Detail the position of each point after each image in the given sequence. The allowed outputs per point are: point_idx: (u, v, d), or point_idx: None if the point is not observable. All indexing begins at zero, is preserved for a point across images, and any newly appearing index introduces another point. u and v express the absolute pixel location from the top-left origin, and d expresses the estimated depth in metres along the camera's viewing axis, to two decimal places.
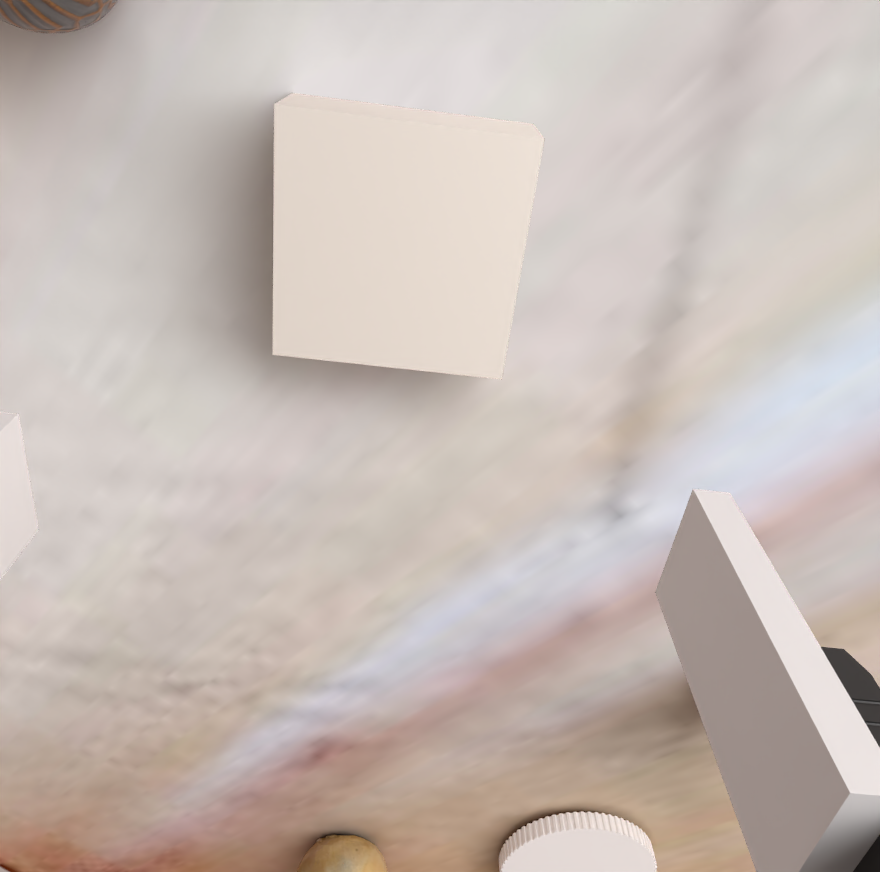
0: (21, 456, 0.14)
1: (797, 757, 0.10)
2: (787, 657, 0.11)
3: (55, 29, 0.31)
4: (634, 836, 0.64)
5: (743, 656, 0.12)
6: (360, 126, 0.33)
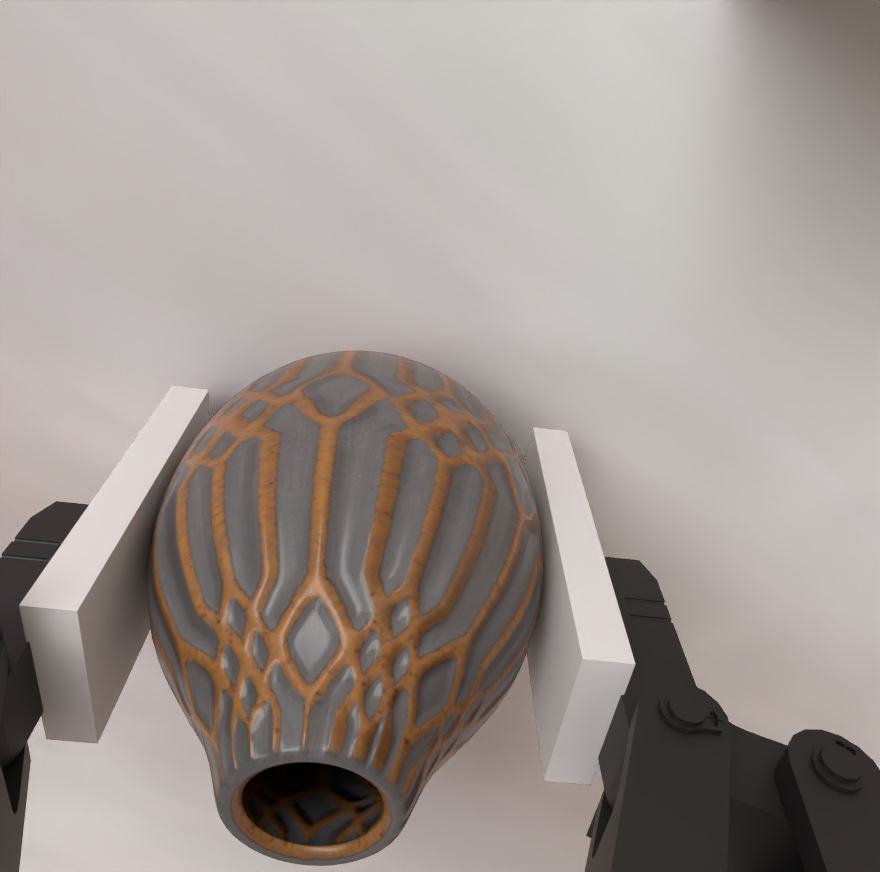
0: None
1: (562, 640, 0.11)
2: (568, 558, 0.12)
3: (540, 568, 0.13)
4: None
5: (545, 565, 0.13)
6: None
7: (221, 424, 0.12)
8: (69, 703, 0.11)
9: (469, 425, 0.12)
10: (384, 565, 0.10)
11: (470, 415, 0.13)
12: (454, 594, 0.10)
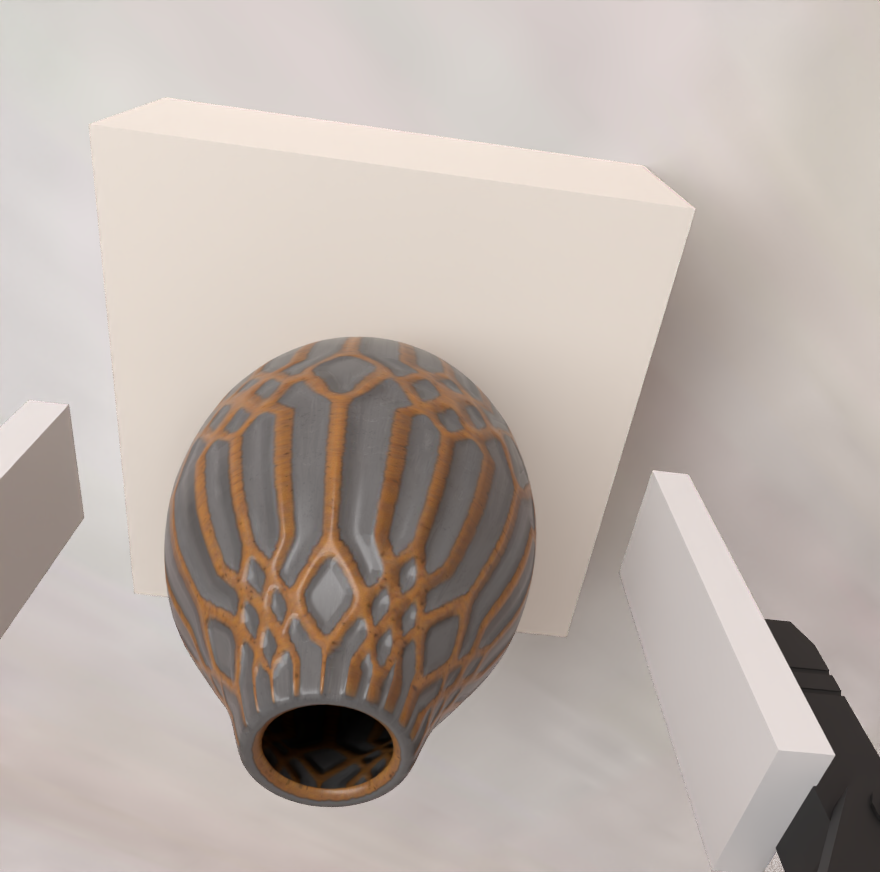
0: (70, 445, 0.15)
1: (735, 720, 0.11)
2: (730, 626, 0.11)
3: (534, 539, 0.13)
4: None
5: (692, 628, 0.12)
6: (142, 480, 0.18)
7: (235, 402, 0.13)
8: None
9: (468, 404, 0.13)
10: (393, 527, 0.11)
11: (468, 395, 0.13)
12: (457, 556, 0.11)
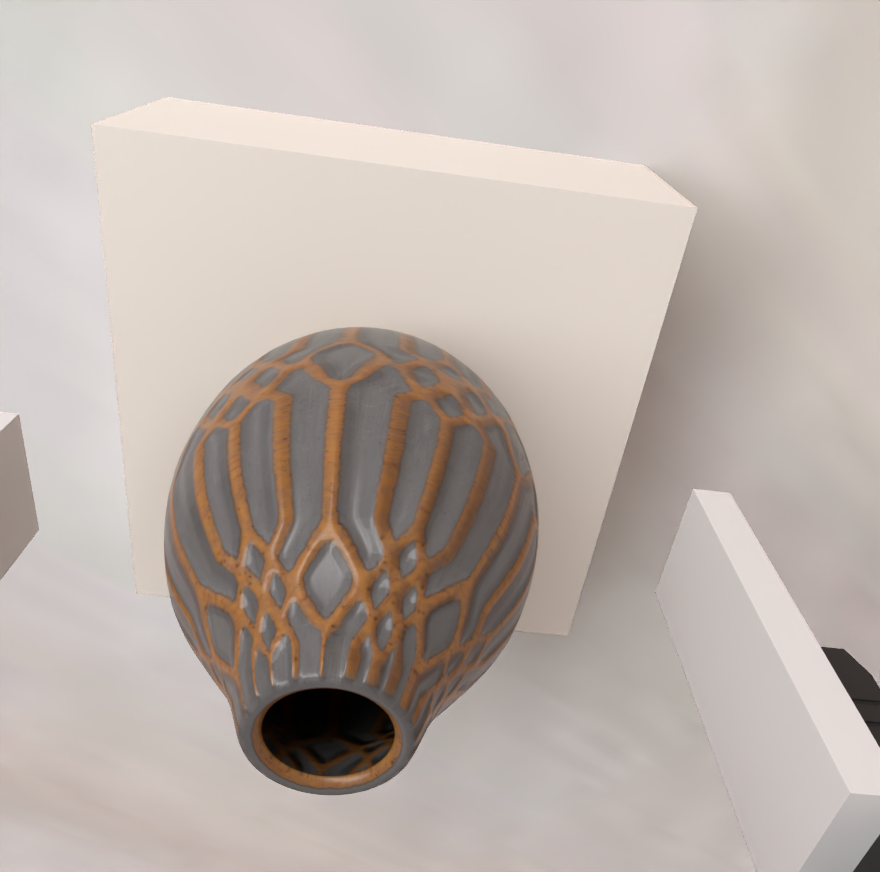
0: (22, 456, 0.14)
1: (797, 757, 0.10)
2: (787, 657, 0.11)
3: (536, 527, 0.13)
4: None
5: (743, 656, 0.12)
6: (143, 479, 0.18)
7: (234, 391, 0.13)
8: None
9: (468, 391, 0.13)
10: (391, 511, 0.11)
11: (469, 382, 0.13)
12: (457, 540, 0.11)
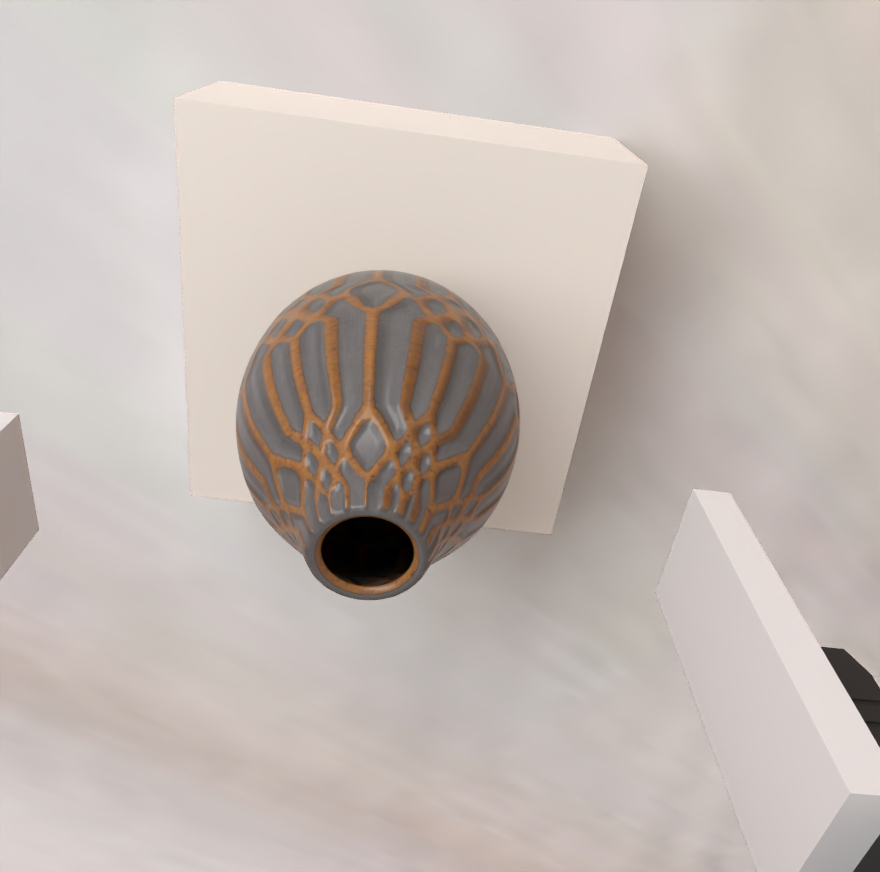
0: (21, 456, 0.14)
1: (797, 757, 0.10)
2: (787, 657, 0.11)
3: (518, 424, 0.17)
4: None
5: (743, 656, 0.12)
6: (201, 394, 0.22)
7: (290, 316, 0.17)
8: None
9: (468, 319, 0.17)
10: (412, 400, 0.15)
11: (468, 313, 0.17)
12: (459, 424, 0.15)
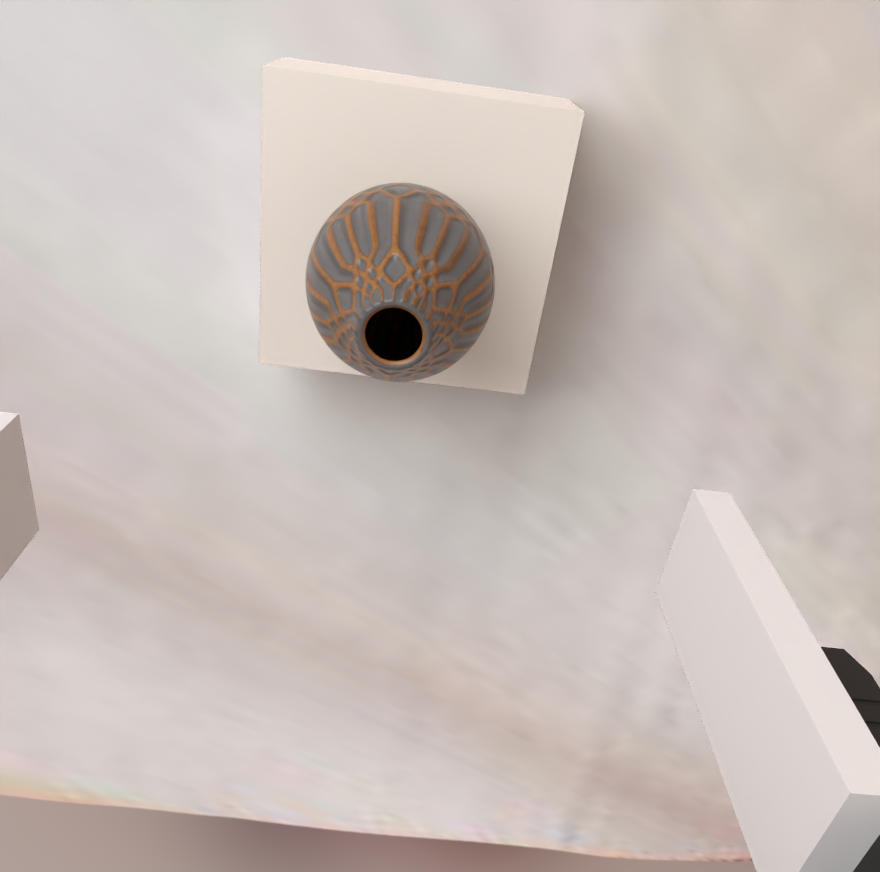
0: (21, 456, 0.14)
1: (797, 757, 0.10)
2: (787, 657, 0.11)
3: (492, 280, 0.26)
4: None
5: (743, 656, 0.12)
6: (270, 282, 0.31)
7: (343, 205, 0.26)
8: None
9: (459, 209, 0.26)
10: (422, 246, 0.24)
11: (460, 207, 0.26)
12: (452, 264, 0.24)
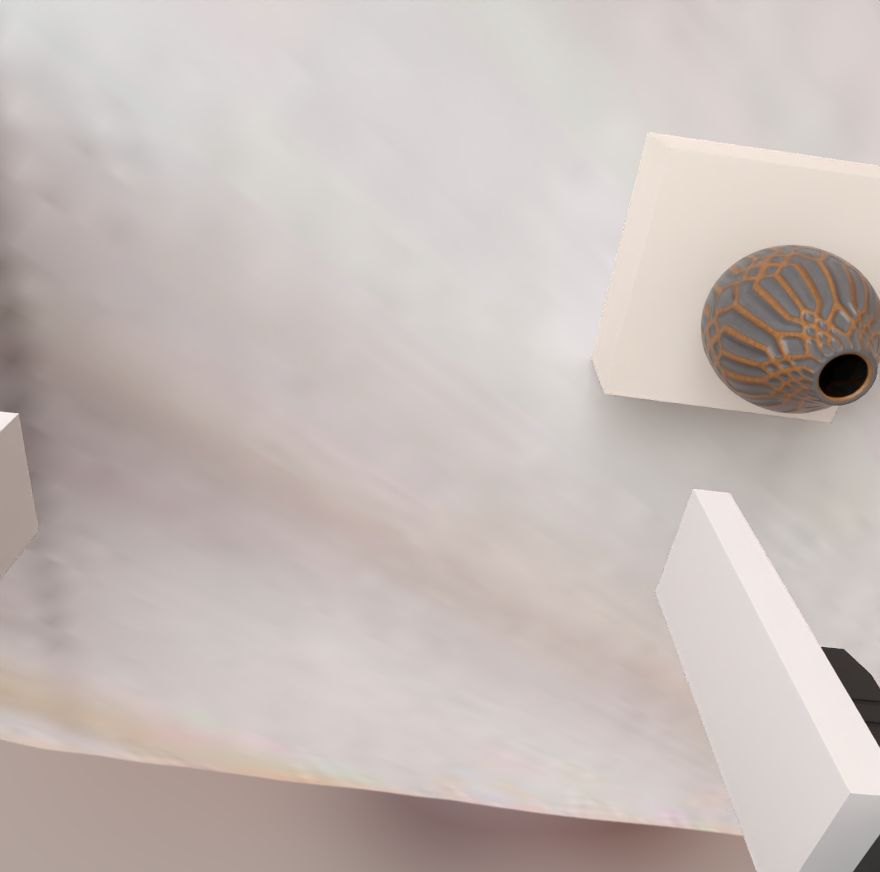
0: (21, 456, 0.14)
1: (797, 757, 0.10)
2: (787, 657, 0.11)
3: None
4: None
5: (743, 656, 0.12)
6: (632, 325, 0.36)
7: (760, 265, 0.31)
8: None
9: None
10: (856, 301, 0.29)
11: None
12: (875, 316, 0.29)
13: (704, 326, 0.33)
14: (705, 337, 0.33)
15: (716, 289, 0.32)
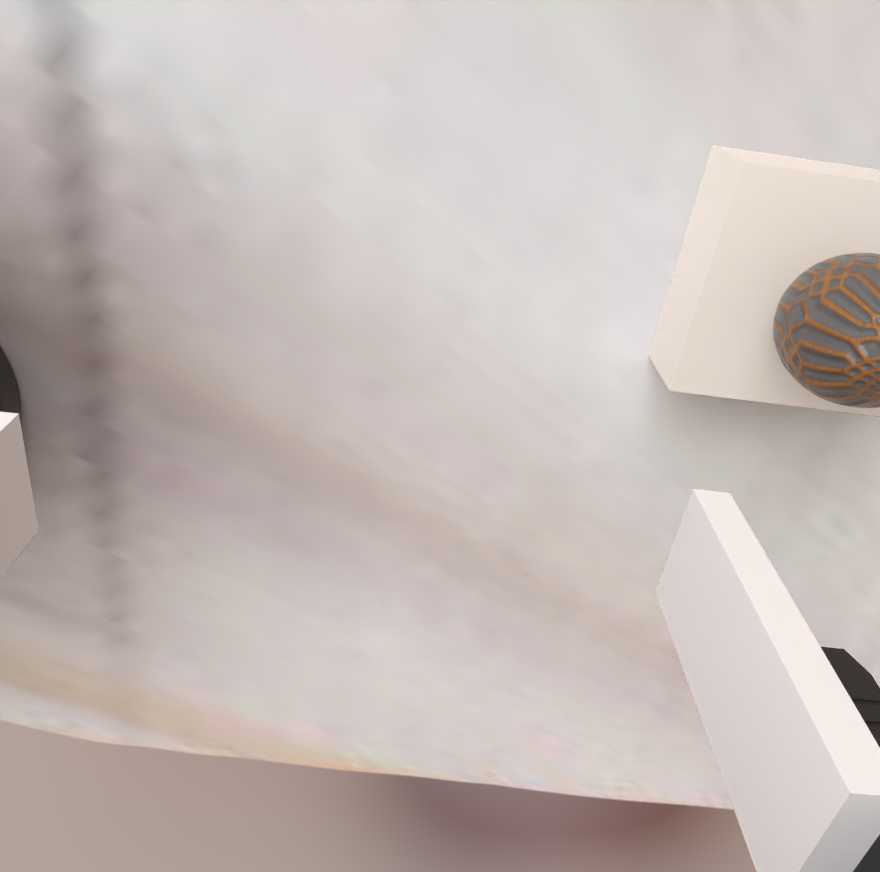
0: (21, 456, 0.14)
1: (797, 757, 0.10)
2: (787, 657, 0.11)
3: None
4: None
5: (743, 656, 0.12)
6: (698, 327, 0.39)
7: (822, 280, 0.33)
8: None
9: None
10: None
11: None
12: None
13: (779, 341, 0.36)
14: (782, 351, 0.35)
15: (784, 306, 0.35)
